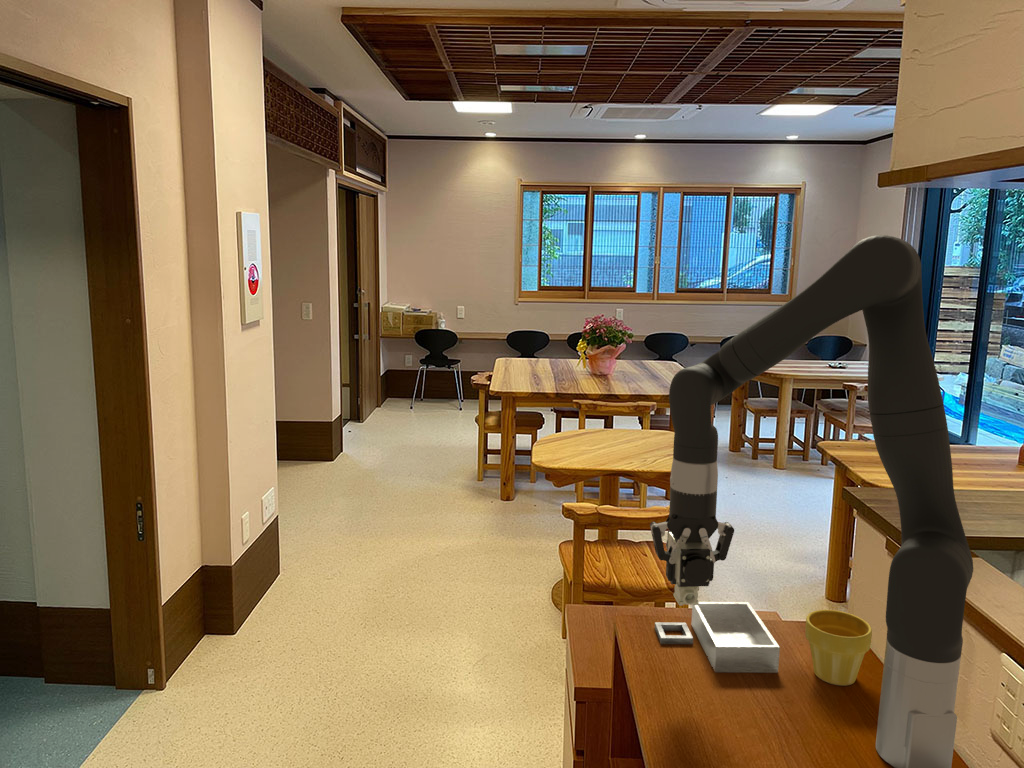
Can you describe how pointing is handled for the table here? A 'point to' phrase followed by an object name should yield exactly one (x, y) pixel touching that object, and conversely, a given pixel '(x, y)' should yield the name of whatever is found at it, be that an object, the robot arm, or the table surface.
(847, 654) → the plant pot
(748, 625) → the seat cradle
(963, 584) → the robot arm
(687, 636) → the gray square frame
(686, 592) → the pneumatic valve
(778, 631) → the table surface
